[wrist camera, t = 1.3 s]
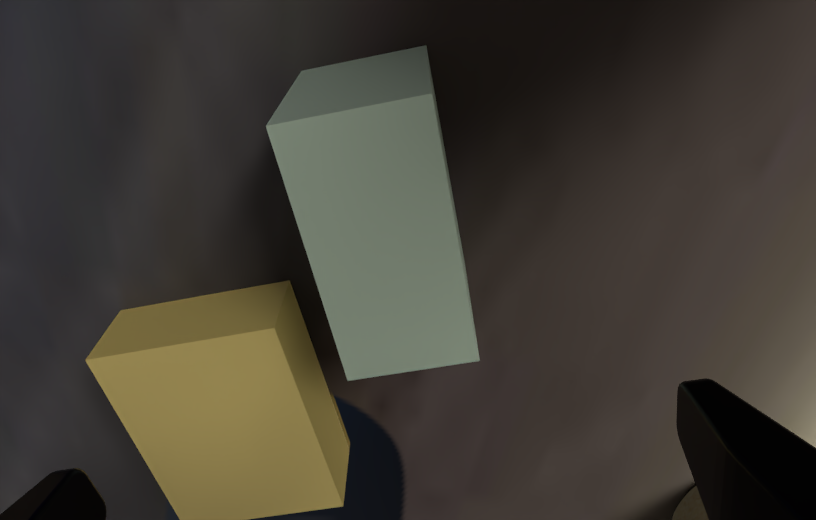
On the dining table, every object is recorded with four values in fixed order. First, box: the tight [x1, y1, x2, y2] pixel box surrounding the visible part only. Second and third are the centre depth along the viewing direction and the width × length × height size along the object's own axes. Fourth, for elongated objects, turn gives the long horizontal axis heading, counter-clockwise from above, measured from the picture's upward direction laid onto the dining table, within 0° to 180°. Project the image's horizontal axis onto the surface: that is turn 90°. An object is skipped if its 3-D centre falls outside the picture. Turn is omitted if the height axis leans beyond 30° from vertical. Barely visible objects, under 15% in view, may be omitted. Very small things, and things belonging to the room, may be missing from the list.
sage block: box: [266, 45, 480, 381], centre depth 16 cm, size 4×7×5 cm, turn 11°
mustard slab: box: [85, 280, 350, 520], centre depth 22 cm, size 6×8×3 cm
